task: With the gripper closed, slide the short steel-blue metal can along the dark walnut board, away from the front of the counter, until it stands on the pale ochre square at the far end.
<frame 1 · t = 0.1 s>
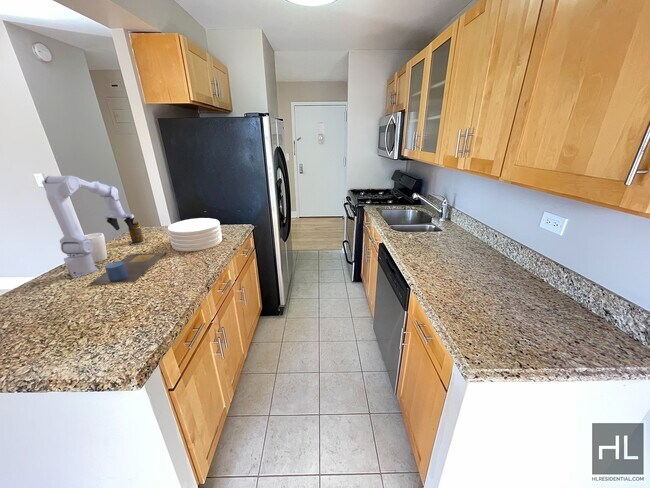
hand: (125, 229, 148), 11 cm above the countertop, tool pointing down, fingers open, 7 cm apart
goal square: (142, 258, 136), resting on board
can: (118, 277, 117), resting on board
condiment: (138, 242, 159), on the countertop
plate stack: (198, 242, 159), on the countertop
foam cup: (99, 259, 136), on the countertop
board: (132, 267, 127), on the countertop
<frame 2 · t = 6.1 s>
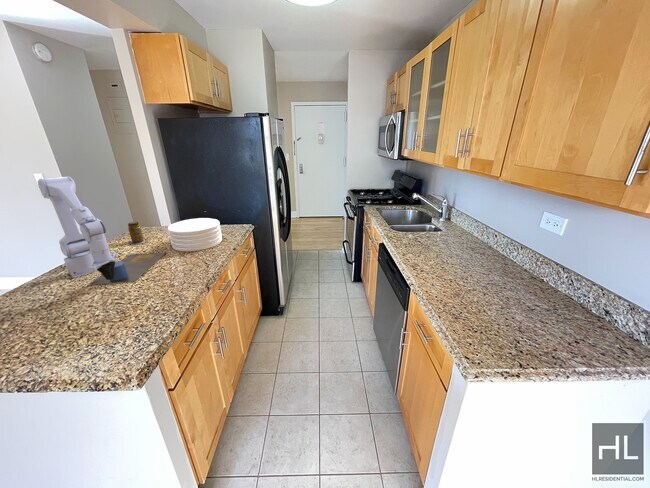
hand: (110, 278, 111), 2 cm above the countertop, tool pointing down, fingers closed
can: (118, 277, 117), resting on board, touching gripper
everything else where it was.
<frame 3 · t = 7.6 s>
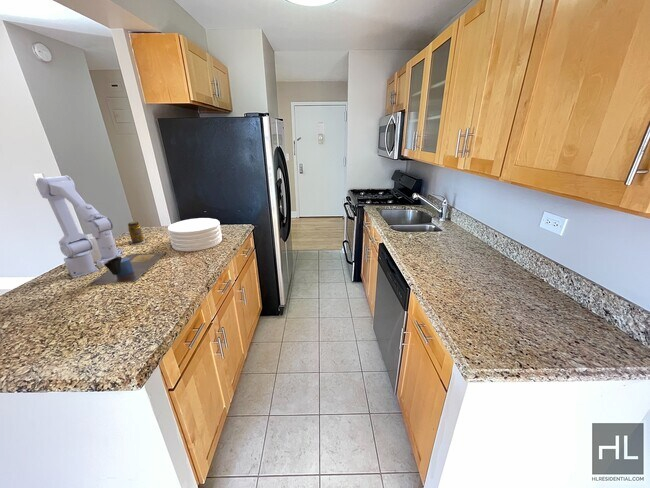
hand: (116, 274, 115), 2 cm above the countertop, tool pointing down, fingers closed
can: (124, 272, 121), resting on board, touching gripper
everything else where it was.
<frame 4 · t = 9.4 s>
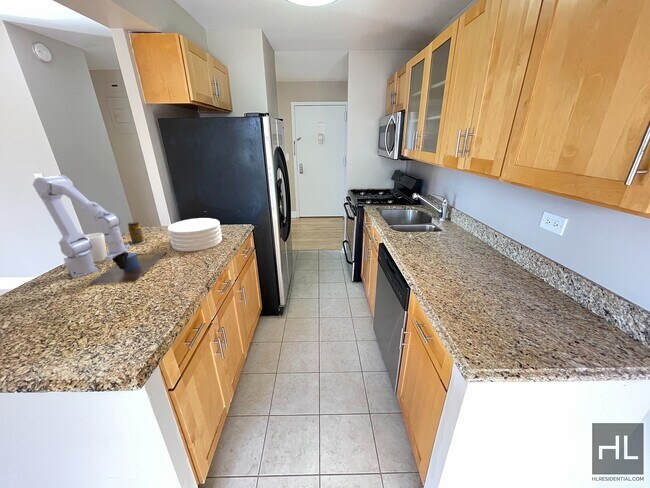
hand: (123, 268, 120), 2 cm above the countertop, tool pointing down, fingers closed
can: (131, 267, 126), resting on board, touching gripper
everything else where it was.
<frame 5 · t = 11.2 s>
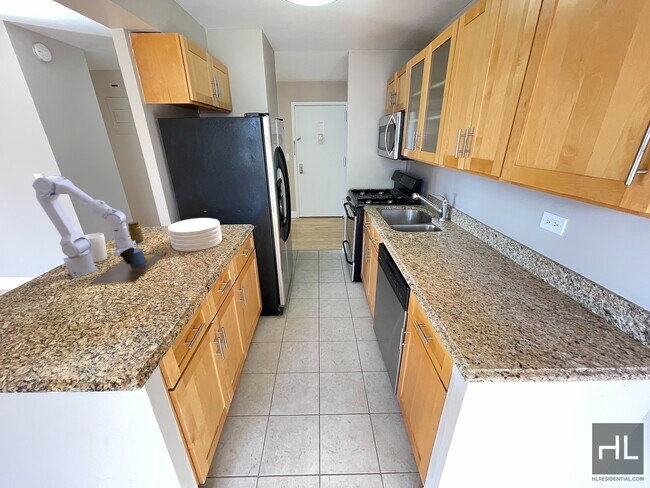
hand: (130, 263, 125), 2 cm above the countertop, tool pointing down, fingers closed
can: (137, 262, 131), resting on board
everything else where it was.
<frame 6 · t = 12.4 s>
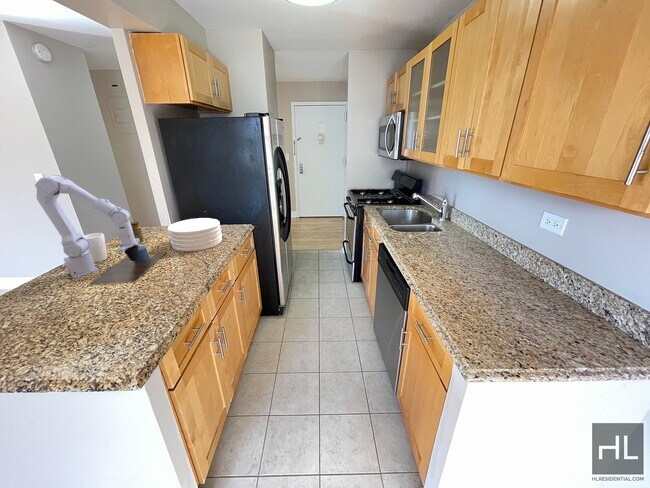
hand: (134, 260, 129), 2 cm above the countertop, tool pointing down, fingers closed
can: (141, 259, 134), resting on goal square, touching gripper
everything else where it was.
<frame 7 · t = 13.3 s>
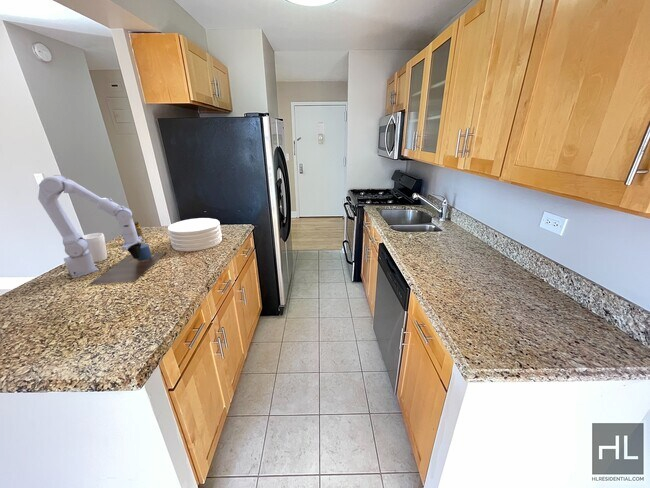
hand: (136, 258, 131), 2 cm above the countertop, tool pointing down, fingers closed
can: (144, 257, 137), resting on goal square, touching board, gripper
everything else where it was.
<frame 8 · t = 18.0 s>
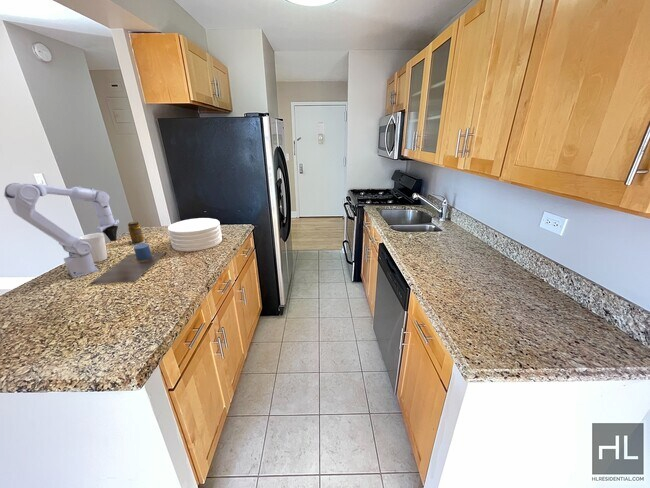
hand: (113, 240, 132), 10 cm above the countertop, tool pointing down, fingers closed
can: (144, 257, 137), resting on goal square, touching board
everything else where it was.
at the end: can inside the target area on the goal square (0.9 cm from its centre), point 0.3 cm above the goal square's base; can tilted 0°; can moved 21.9 cm from its start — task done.
